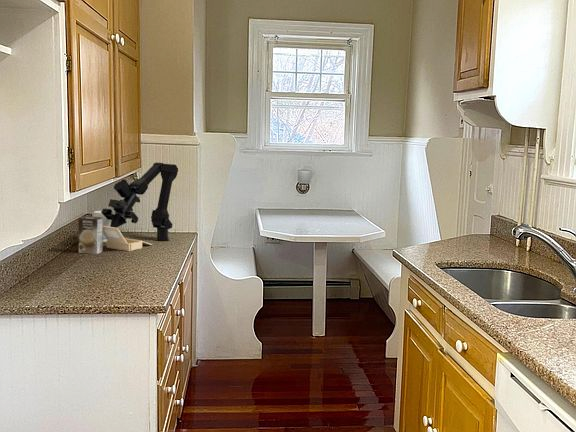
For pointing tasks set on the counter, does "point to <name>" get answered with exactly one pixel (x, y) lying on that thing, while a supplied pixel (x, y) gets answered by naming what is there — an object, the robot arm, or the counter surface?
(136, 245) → the carton
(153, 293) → the counter surface
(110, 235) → the flap
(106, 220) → the supplement tub
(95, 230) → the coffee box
